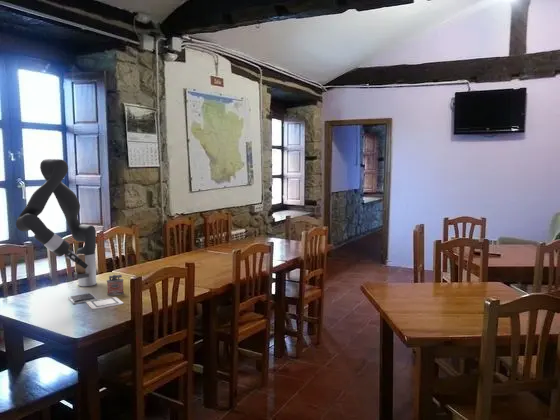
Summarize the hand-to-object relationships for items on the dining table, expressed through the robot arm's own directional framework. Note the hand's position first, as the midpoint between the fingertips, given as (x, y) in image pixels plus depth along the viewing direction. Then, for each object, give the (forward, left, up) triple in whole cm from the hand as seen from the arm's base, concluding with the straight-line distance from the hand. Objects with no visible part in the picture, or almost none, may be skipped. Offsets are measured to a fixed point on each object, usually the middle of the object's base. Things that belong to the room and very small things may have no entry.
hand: (85, 266), depth 223 cm
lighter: (-1, +14, -17) cm, 22 cm away
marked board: (+12, +5, -17) cm, 21 cm away
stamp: (0, -2, -5) cm, 5 cm away
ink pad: (-1, -2, -17) cm, 17 cm away
